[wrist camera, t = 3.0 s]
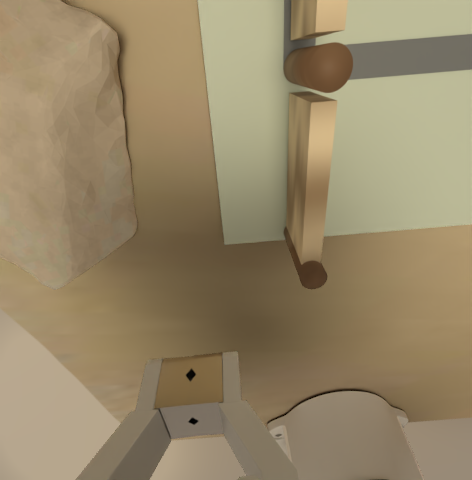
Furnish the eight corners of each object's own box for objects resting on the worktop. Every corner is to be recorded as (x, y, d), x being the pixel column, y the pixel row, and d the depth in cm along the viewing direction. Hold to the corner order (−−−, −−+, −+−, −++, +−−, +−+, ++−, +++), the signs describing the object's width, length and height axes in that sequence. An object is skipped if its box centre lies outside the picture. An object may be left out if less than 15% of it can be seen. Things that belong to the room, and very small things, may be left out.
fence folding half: (303, 239, 23) (325, 287, 18) (283, 241, 23) (300, 290, 18) (312, 90, 17) (348, 102, 12) (285, 93, 17) (311, 105, 12)
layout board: (466, 221, 24) (472, 224, 23) (224, 241, 24) (224, 245, 23) (726, -436, 10) (753, -462, 10) (155, -385, 10) (152, -409, 10)
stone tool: (-218, -164, 14) (36, 269, 25) (-486, -320, 9) (-18, 313, 19) (46, -259, 13) (193, 240, 23) (-86, -504, 8) (180, 280, 18)
